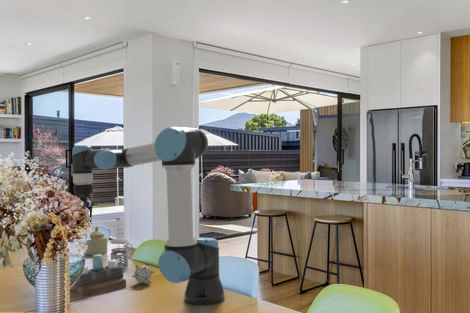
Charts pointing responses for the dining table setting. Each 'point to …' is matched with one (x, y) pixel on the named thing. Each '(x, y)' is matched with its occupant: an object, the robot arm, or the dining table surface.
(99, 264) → the teal plug
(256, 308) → the dining table surface
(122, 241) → the french press
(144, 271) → the grey spiky ball
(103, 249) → the sugar bowl
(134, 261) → the dining table surface
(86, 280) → the socket board
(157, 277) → the dining table surface
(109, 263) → the grey plug
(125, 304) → the dining table surface
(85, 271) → the grey plug
